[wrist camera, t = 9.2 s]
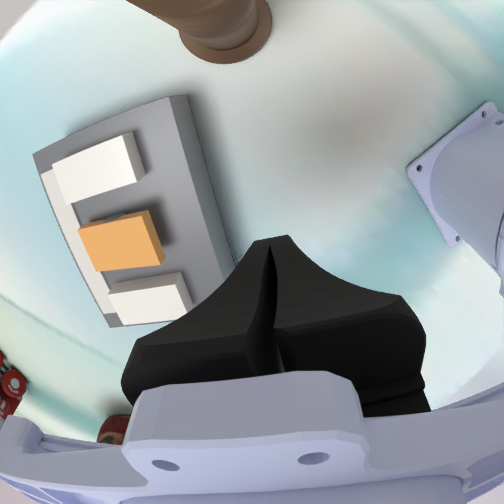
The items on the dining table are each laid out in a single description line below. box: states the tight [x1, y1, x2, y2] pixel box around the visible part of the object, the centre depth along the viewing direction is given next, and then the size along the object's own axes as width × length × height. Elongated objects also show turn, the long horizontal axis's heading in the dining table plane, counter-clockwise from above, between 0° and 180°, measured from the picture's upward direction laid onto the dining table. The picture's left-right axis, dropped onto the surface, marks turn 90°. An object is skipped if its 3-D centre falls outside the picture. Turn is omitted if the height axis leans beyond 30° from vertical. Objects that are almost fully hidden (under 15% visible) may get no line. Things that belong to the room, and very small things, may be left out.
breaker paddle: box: [77, 210, 166, 272], centre depth 18 cm, size 5×3×2 cm, turn 103°
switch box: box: [32, 95, 235, 328], centre depth 20 cm, size 10×14×5 cm
